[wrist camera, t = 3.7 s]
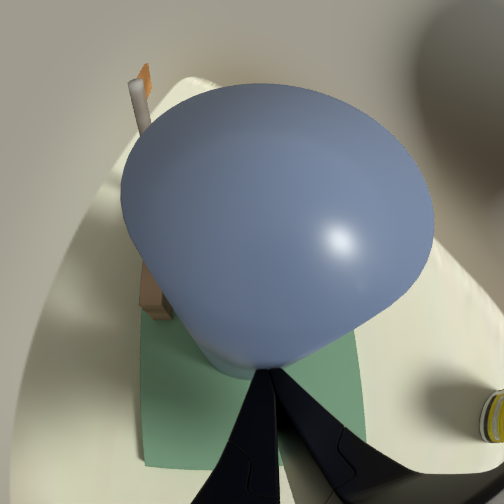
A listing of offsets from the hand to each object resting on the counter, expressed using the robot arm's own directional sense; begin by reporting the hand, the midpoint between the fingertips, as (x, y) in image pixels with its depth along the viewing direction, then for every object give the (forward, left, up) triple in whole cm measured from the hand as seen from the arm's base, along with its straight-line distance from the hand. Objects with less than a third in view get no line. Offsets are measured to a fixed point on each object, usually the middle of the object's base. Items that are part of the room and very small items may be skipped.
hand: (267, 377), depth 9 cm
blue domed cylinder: (+2, -2, -7) cm, 8 cm away
